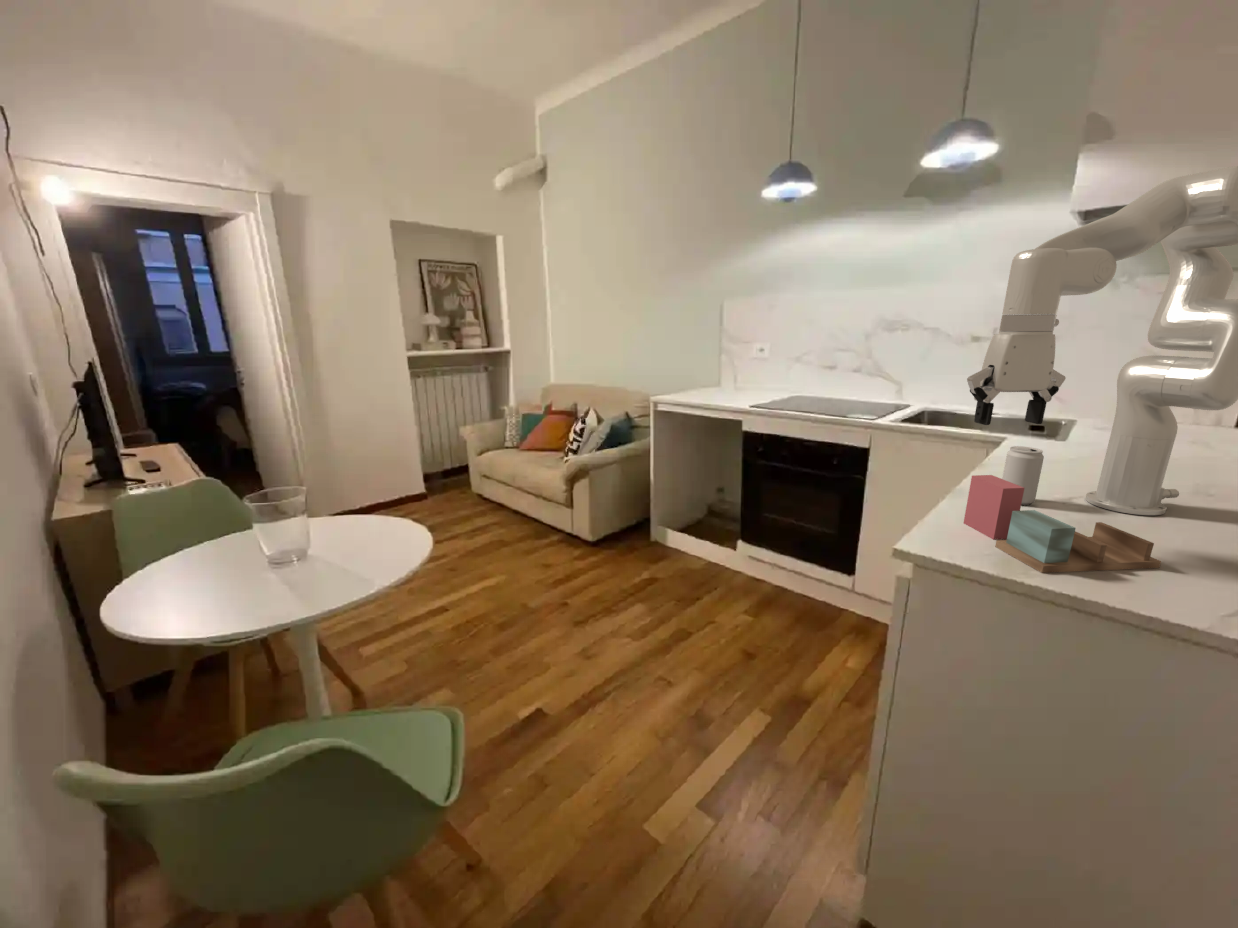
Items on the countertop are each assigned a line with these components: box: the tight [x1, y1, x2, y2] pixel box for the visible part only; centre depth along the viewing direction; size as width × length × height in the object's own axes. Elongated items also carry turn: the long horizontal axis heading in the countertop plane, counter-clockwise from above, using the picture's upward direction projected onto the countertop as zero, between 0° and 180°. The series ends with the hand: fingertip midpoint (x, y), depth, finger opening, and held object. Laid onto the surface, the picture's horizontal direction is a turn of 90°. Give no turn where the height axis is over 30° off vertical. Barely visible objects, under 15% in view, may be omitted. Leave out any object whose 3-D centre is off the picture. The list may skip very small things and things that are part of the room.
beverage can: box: [1001, 445, 1045, 506], centre depth 114 cm, size 6×6×12 cm
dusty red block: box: [963, 474, 1024, 541], centre depth 99 cm, size 4×8×10 cm, turn 3°
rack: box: [995, 509, 1162, 574], centre depth 88 cm, size 20×10×7 cm, turn 93°
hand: (1007, 423), depth 94 cm, fingers open, 9 cm apart
